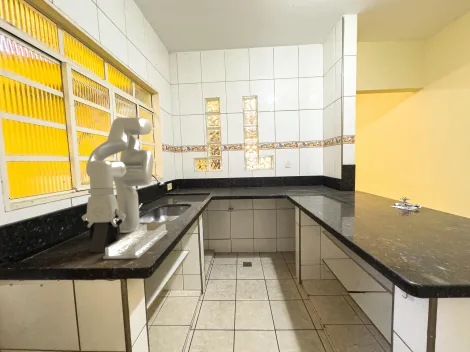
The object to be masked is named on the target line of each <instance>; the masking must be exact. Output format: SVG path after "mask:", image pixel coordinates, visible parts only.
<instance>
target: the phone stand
mask: <svg viewBox="0 0 470 352" xmlns="http://www.w3.org/2000/svg"><path fill="white" fill-rule="evenodd" d="M113 227H114V226H113V224H112V223H111V222H105V223H95V228H94V232H93V237H92V238H91V242H90V247H89V253H99V254H100V253H102V254H103V253H105V247H107V246H108V245H110V244H112V243H114V242H115V241H117V240H119V239H120V236H119V235H118V236H117V237H113Z"/></svg>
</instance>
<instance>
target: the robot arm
mask: <svg viewBox="0 0 470 352" xmlns="http://www.w3.org/2000/svg"><path fill="white" fill-rule="evenodd" d="M110 126H111V127H110V130H109V133H108V136H107V140H105V141H104V142H102V143H101V144H99V145H98V146H97V147H96V148H94V149H93V150H92V151H91V153H90V155H89V157H88V160H87V162H86V167H85V169H86V170H85V171H86V175H87V176H88V177H89V187H90V188H89V190H88V192H87V193H88V194H90V196H88V199H87V203H86V205H87V206H86V213H85V214H83V215H82V216H81V219H82V220H83V222H84V224H85V225H86V226H87V228H88V231H89V232H88V233H89V239H92V237H93V232H94V228H95V223H105V222H111V223H112V224H113V226H114V227H113V237H117V236H118V237H119V236H120V234H124V233H127V234H128V233H131V232H132V231H134V230H136V229H137V228H139V227H141V226H142V225H143V223H140V209H139V207H140V206H139V195H138V194H139V193H138V192H137V190H136V189H135V188H134V187H139V186H140V187H143V186H148V185H150V184H151V183H152V179H153V167H154V155H153V153H152V151H150V150H149V149H141V143H140V142H139V140H138V139H137V138H136V137H135V136H144V135H145V136H146V135H148V134H150V133H151V131H152V123H151V121H150V119H148V118H146V117H145V118H143V117H117V118H115V119H113V121H112V123H111V125H110ZM118 153H120V159H119V160H105V159H107V158H108V157H111V156H114V155H116V154H118ZM114 186H115V190H114ZM114 191H116V194H115V192H114Z"/></svg>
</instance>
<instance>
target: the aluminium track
mask: <svg viewBox="0 0 470 352" xmlns="http://www.w3.org/2000/svg"><path fill="white" fill-rule="evenodd" d="M147 227H148V225H147V224H145V223H144V224H142V226H141V227H139V228H137V229H136V230H134V231H132V232H128V233H127V234H126V235H124V236H122V237H119V240H117V241H115V242H114V243H112V244H110V245H108V246H107V247H105V252H104V253H105V254H104V255H103V260H117V259H118V260H120V259H124V260H125V259H126V260H127V259H128V260H129V259H139V258H140V257H142V255H144V254H145V252H147V251H148V250H149V249H151V248H152V247H153V246H154V245H155V244H156V243H157V242H158V241H159V240H160V239H161V238H163V237H164V236H165V235H166V234H168V233H169V231H168V230H167V226H166V223H162V224H161V225H160V226H158V227H157V228H155V229H153V230H152V229H151V230H148V228H147Z"/></svg>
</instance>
